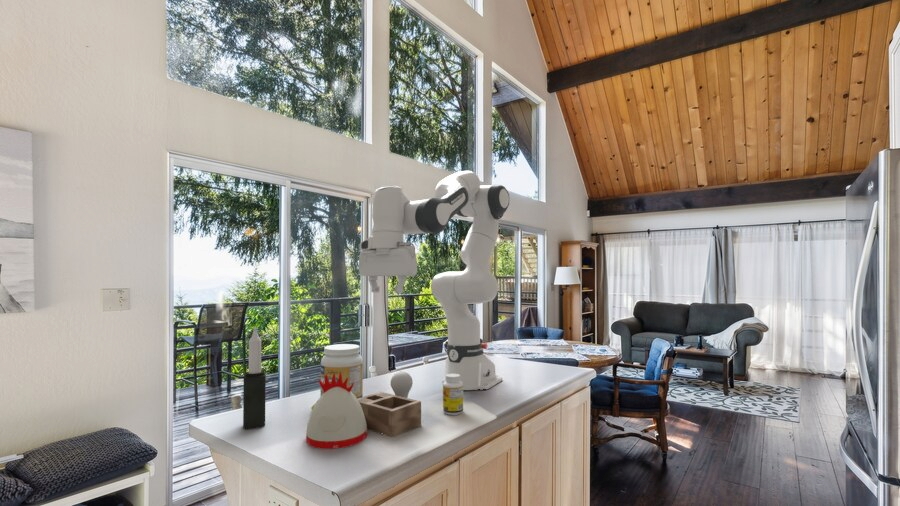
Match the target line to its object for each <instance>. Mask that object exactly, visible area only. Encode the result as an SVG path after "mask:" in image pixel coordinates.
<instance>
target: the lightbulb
mask: <svg viewBox="0 0 900 506" xmlns="http://www.w3.org/2000/svg"><path fill="white" fill-rule="evenodd" d="M413 382H414V381H413V378H412V376H411V375H410V373H409V372H407V371H402V370H401V371H397V372H396V373H394V374H393V376H392V377H391V378H390V387H391V390H392V391H393V393H394V395H397V396H401V397H405V398H409V393H410V391H411V389H412V388H413Z"/></svg>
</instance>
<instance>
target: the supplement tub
mask: <svg viewBox="0 0 900 506" xmlns="http://www.w3.org/2000/svg"><path fill="white" fill-rule="evenodd" d="M360 347H361V346H360V345H359V344H355V343H353V344H352V343H339V344H331V345H326V346H324V348H323V354H324V356H323V357H322V358H321V360H320V380H321V381H322V382H323V383H325V375H326V374H327V376H328V379H329V382H330V383H331V382H332V377H333V374H334V373H335V378H336V382H338V378H339V375H340V373H341V375H342V381H343V383H344V382H345V380H346V378H347V377H348V381H347V387H350V386H351V385H352V383H353V382H354V385H353V387H352V389H351V392H352V393H353V394H354V395H355V397H356V398H361V397H364V396H363V393H364V392H363V384H364V383H363V381H364V380H363V379H364V376H363V375H364V371H363V370H364V363H363V362H364V359H363V357H362V355H361V354H360V353H361V349H360ZM323 393H324V392H323V390H322V388H321V387H320V396H321V395H322V394H323Z"/></svg>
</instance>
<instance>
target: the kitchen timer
mask: <svg viewBox="0 0 900 506" xmlns="http://www.w3.org/2000/svg"><path fill="white" fill-rule="evenodd" d="M347 381H348V377H347V378H346V380H345V382H344V383H343V381H342V375H341V373H340V375H339V378H338V382H336V378H335V373H334V374H333V377H332V382H331V383H330V382H329V379H328V376H327V374H326V375H325V383H323V382H322V381H321V379H319V380H318V383H319V386H320V389H321V388H322V390H323V392H324V393H323V394H322V395H321V394H320V397H319V398H318V399H317V400H316V402H315V403H314V404H313V405H312V406H311V412H310V415H309V419H308V422H307V426H306V433H305V439H306V440H305V441H306V444H308V446H310V447H312V448H315V449H322V450H326V449H328V450H331V449H332V450H333V449H341V448H347V447H351V446H354V445H357V444H359V443H361V442H363V441H364V440H365V439H366V438H367V435H368V429H367V424H366V420H365V416H364V413H363V410H362V407H361V405H360V403H359V401H358V400H357V398H356V397H355V395H354V394H353V393H352V392H351V389H352V387H353V385H354V382H353V383H352V385H351V386H350V387H347Z"/></svg>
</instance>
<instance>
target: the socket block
mask: <svg viewBox="0 0 900 506" xmlns="http://www.w3.org/2000/svg"><path fill="white" fill-rule="evenodd" d="M357 400H358V401H359V403H360V405H361V407H362V410H363V413H364V416H365V420H366V424H367V430H369V431H372V432H376V433H378V432H379V434H381V433H383V434H382V435H384V434H385V435H384V436H388V437H391V438H394V437H396V436H398V435H401V434H403V433H406V432H409V431H411V430H413V429H416V428H418V427H420V426H421V427H422V401H421V400H416V399H412V398H409V397H408V398H405V397H401V396H397V395H395V394H393V393H388V392H384V391H378V392H375V393H371V394H368V395H365V396H363V397H361V398H357Z"/></svg>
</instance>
